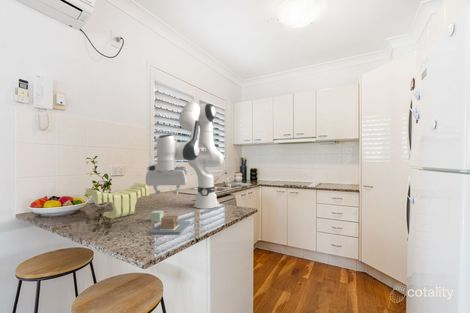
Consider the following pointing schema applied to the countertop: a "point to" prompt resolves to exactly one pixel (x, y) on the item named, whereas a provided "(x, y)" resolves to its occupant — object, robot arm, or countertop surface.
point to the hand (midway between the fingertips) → (166, 194)
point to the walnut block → (169, 222)
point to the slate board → (177, 230)
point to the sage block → (156, 216)
